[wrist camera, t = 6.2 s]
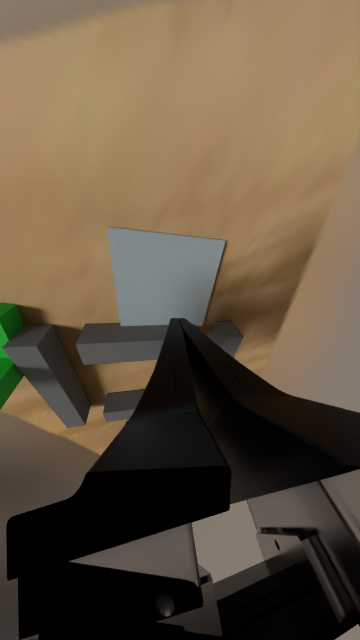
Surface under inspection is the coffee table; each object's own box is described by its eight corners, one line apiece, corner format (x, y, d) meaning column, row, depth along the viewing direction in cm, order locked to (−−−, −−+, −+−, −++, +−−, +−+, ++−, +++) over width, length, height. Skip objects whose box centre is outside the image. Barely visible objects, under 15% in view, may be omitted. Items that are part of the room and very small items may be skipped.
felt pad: (201, 323, 16) (202, 326, 16) (121, 325, 14) (120, 328, 14) (223, 239, 11) (225, 240, 11) (108, 226, 9) (106, 227, 9)
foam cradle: (203, 390, 25) (208, 406, 23) (74, 407, 21) (67, 427, 19) (231, 321, 17) (243, 336, 15) (24, 325, 12) (1, 347, 10)
